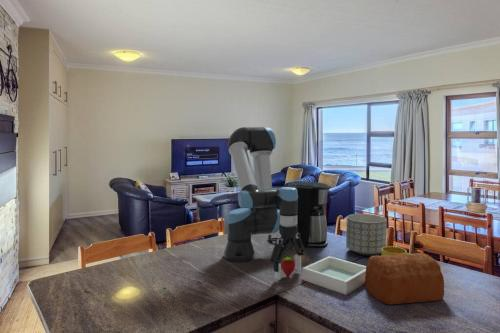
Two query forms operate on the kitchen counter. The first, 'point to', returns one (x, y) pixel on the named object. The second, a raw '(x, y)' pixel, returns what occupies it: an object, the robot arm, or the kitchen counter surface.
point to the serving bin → (335, 274)
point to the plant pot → (392, 250)
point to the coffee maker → (311, 213)
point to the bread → (404, 278)
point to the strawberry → (288, 266)
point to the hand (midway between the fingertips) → (288, 274)
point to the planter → (366, 233)
